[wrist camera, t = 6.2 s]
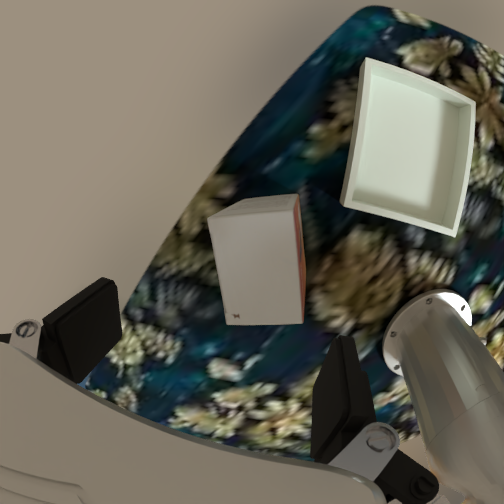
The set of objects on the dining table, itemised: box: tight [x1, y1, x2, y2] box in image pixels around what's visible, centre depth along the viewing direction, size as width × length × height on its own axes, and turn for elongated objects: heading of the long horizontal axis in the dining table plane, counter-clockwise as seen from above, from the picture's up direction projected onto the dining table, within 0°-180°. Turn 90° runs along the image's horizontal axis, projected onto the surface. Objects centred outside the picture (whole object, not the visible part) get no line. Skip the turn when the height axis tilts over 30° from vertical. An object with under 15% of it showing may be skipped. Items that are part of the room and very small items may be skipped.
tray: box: [340, 57, 476, 237], centre depth 20 cm, size 12×14×3 cm
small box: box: [207, 194, 306, 325], centre depth 22 cm, size 8×6×10 cm
